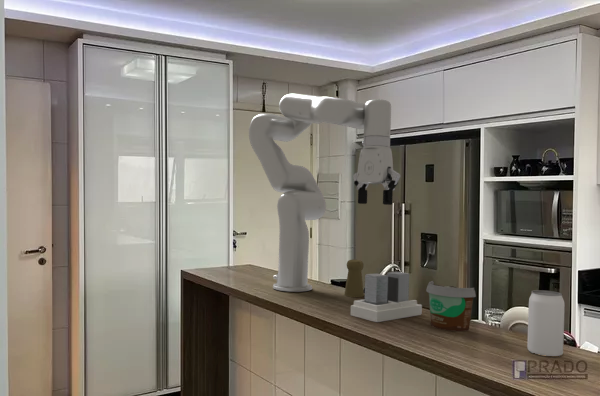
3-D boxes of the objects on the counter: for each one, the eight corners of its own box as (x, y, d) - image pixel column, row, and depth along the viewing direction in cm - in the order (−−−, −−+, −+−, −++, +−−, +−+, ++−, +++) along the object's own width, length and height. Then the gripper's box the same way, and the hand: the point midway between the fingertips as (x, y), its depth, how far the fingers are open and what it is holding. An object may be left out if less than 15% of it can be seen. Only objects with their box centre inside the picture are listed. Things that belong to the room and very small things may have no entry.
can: (567, 353, 106) (569, 293, 106) (557, 359, 101) (559, 296, 101) (533, 346, 110) (535, 288, 110) (522, 352, 105) (524, 292, 105)
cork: (363, 297, 160) (364, 261, 160) (343, 296, 161) (344, 260, 161) (364, 294, 166) (365, 259, 166) (345, 293, 167) (346, 258, 167)
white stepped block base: (350, 315, 134) (351, 273, 135) (395, 308, 145) (396, 270, 145) (376, 322, 127) (378, 278, 128) (421, 314, 138) (423, 274, 138)
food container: (414, 324, 127) (415, 282, 127) (430, 321, 131) (431, 280, 131) (459, 335, 118) (460, 290, 118) (474, 331, 122) (476, 287, 122)
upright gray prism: (364, 305, 134) (365, 274, 134) (376, 304, 137) (377, 273, 137) (375, 308, 131) (377, 276, 131) (388, 307, 134) (389, 275, 134)
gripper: (346, 144, 155) (344, 203, 155) (390, 140, 142) (388, 204, 142) (364, 146, 160) (362, 203, 160) (409, 143, 147) (407, 205, 146)
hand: (374, 204), depth 151 cm, fingers open, 9 cm apart
